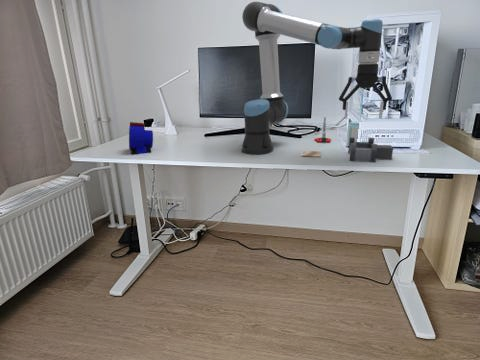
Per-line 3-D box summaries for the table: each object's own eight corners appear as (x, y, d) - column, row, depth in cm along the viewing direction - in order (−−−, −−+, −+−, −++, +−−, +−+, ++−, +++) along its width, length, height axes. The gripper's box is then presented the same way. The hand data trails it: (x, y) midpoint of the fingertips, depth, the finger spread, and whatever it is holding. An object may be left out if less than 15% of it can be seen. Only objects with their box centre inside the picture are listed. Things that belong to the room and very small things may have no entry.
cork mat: (301, 156, 139) (301, 155, 139) (303, 152, 146) (303, 150, 146) (320, 157, 137) (320, 156, 137) (321, 152, 144) (321, 151, 144)
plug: (373, 159, 132) (374, 147, 131) (372, 156, 137) (373, 144, 135) (391, 159, 131) (393, 148, 129) (389, 156, 135) (391, 145, 133)
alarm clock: (129, 149, 163) (124, 120, 158) (153, 146, 167) (149, 118, 162) (130, 155, 152) (125, 124, 147) (156, 152, 156) (152, 122, 151)
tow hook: (314, 139, 171) (315, 143, 162) (315, 115, 167) (316, 117, 158) (329, 139, 169) (332, 143, 161) (331, 115, 165) (333, 117, 157)
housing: (349, 160, 131) (351, 144, 128) (348, 152, 143) (349, 137, 141) (375, 162, 128) (377, 145, 126) (371, 152, 141) (373, 137, 138)
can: (353, 144, 156) (355, 120, 152) (365, 147, 150) (367, 122, 146) (343, 146, 153) (345, 122, 149) (354, 149, 147) (356, 124, 143)
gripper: (335, 64, 123) (331, 119, 130) (405, 62, 116) (397, 119, 124) (335, 64, 129) (331, 116, 137) (400, 62, 123) (393, 116, 130)
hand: (362, 118), depth 130 cm, fingers open, 13 cm apart
